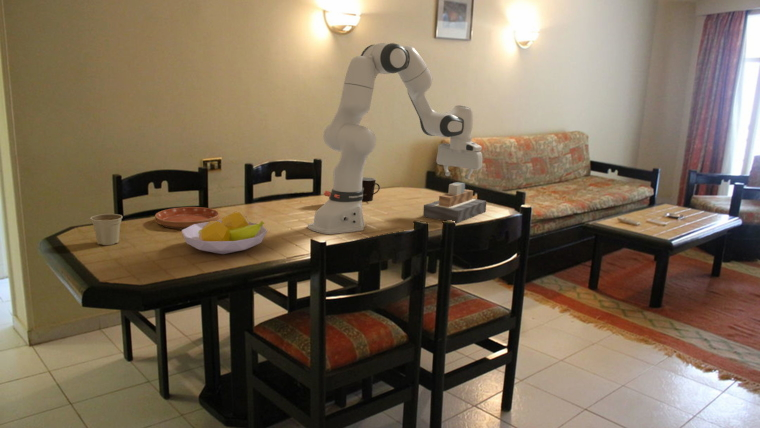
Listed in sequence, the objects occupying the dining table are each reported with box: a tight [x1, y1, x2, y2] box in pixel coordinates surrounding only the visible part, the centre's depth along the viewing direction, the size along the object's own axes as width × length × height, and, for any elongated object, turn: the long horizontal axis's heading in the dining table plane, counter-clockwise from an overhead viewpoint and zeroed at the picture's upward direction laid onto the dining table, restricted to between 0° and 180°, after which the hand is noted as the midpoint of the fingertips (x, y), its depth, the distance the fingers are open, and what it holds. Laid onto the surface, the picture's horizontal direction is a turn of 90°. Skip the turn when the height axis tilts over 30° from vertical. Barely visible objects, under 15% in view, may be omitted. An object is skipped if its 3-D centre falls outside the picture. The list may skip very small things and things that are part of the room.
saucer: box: [154, 206, 220, 230], centre depth 213 cm, size 23×23×4 cm
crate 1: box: [447, 182, 462, 195], centre depth 241 cm, size 4×4×4 cm
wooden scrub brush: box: [438, 188, 474, 207], centre depth 244 cm, size 22×5×4 cm, turn 146°
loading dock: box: [422, 198, 487, 224], centre depth 245 cm, size 28×16×5 cm, turn 146°
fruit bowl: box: [180, 210, 268, 255], centre depth 182 cm, size 28×27×11 cm
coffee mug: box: [362, 176, 381, 202], centre depth 265 cm, size 12×9×10 cm
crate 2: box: [453, 182, 466, 193], centre depth 245 cm, size 4×4×4 cm
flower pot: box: [89, 213, 123, 246], centre depth 183 cm, size 9×9×9 cm
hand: (457, 177), depth 241 cm, fingers open, 8 cm apart
